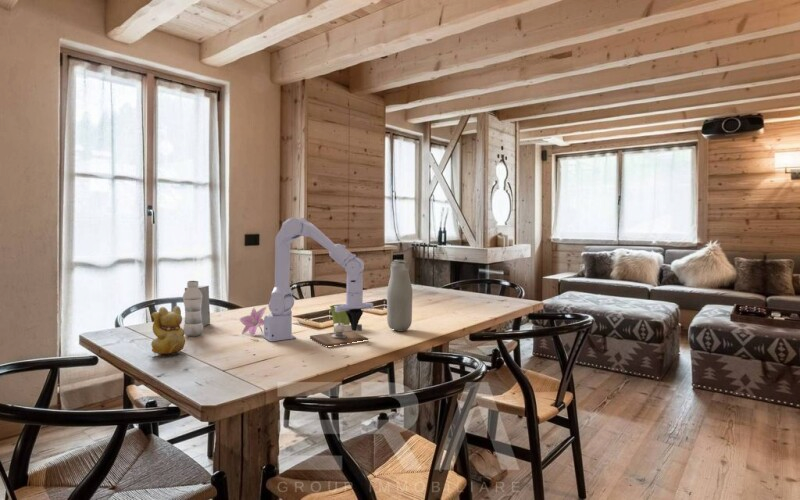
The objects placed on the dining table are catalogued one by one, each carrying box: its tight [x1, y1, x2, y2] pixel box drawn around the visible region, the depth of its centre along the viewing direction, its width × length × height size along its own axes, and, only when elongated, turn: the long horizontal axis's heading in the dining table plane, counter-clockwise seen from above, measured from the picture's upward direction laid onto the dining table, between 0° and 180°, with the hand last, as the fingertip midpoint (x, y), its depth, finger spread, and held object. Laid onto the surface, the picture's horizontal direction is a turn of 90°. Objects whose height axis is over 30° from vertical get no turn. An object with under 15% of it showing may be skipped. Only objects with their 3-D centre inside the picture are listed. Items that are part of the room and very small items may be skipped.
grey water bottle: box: [386, 259, 413, 331], centre depth 182 cm, size 10×10×28 cm
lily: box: [239, 306, 267, 338], centre depth 174 cm, size 12×12×10 cm
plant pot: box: [329, 303, 351, 326], centre depth 185 cm, size 9×9×9 cm
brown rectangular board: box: [309, 331, 369, 347], centre depth 166 cm, size 16×14×3 cm
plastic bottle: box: [182, 280, 204, 337], centre depth 168 cm, size 6×7×20 cm
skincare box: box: [184, 285, 211, 328], centre depth 185 cm, size 8×7×16 cm
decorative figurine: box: [150, 305, 186, 358], centre depth 145 cm, size 10×8×15 cm
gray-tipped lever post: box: [333, 323, 363, 333], centre depth 166 cm, size 4×10×3 cm, turn 101°
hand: (354, 330), depth 165 cm, fingers closed
